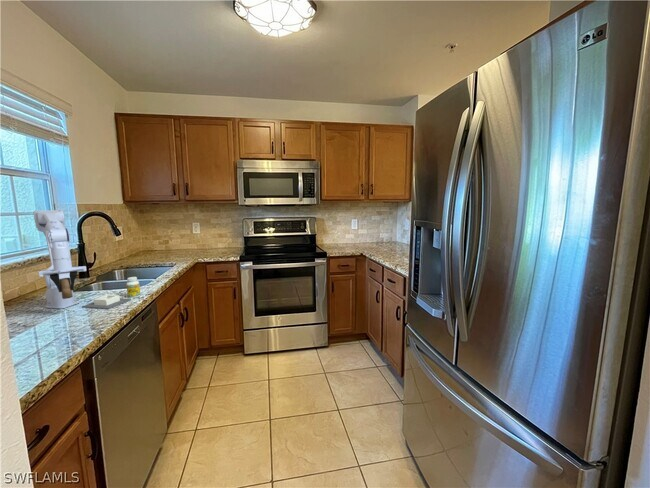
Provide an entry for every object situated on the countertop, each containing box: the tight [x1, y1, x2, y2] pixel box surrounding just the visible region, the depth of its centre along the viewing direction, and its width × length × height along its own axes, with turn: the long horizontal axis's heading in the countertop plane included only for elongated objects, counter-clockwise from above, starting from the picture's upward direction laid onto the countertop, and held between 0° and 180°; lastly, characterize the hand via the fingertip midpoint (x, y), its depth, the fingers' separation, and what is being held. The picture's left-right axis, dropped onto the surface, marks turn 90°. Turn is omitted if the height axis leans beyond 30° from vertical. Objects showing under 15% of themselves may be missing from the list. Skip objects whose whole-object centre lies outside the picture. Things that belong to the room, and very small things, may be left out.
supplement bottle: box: [125, 276, 141, 299], centre depth 147 cm, size 5×5×10 cm
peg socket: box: [81, 294, 132, 310], centre depth 137 cm, size 14×12×3 cm
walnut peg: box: [60, 278, 73, 299], centre depth 123 cm, size 3×3×8 cm
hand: (66, 290), depth 123 cm, fingers closed on walnut peg, 3 cm apart
